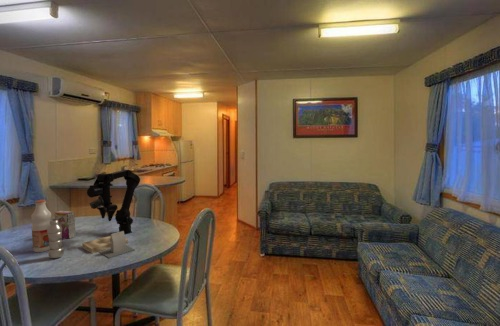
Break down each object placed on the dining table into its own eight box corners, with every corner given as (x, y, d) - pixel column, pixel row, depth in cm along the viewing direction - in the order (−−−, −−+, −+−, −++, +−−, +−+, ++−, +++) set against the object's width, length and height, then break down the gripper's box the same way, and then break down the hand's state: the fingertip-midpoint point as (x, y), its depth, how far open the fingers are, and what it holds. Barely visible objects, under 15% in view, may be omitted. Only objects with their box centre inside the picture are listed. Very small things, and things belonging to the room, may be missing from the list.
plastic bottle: (53, 255, 149) (50, 218, 148) (66, 254, 150) (64, 218, 148) (45, 260, 143) (42, 221, 141) (59, 259, 143) (57, 221, 142)
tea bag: (126, 249, 155) (125, 231, 155) (113, 252, 150) (112, 234, 150) (123, 247, 158) (122, 230, 157) (110, 251, 153) (109, 233, 152)
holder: (117, 237, 175) (117, 234, 175) (128, 242, 166) (127, 238, 166) (82, 247, 160) (82, 243, 160) (91, 253, 151) (91, 248, 151)
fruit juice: (38, 247, 161) (35, 199, 159) (56, 245, 163) (53, 198, 161) (29, 253, 152) (25, 202, 150) (49, 251, 154) (45, 201, 152)
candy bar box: (55, 237, 177) (53, 212, 176) (62, 235, 182) (61, 210, 181) (68, 239, 174) (67, 213, 173) (76, 236, 179) (74, 211, 178)
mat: (124, 245, 163) (124, 244, 163) (134, 250, 155) (134, 249, 155) (99, 252, 152) (99, 251, 152) (108, 258, 144) (108, 257, 144)
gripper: (84, 194, 168) (86, 220, 170) (97, 198, 156) (98, 225, 158) (104, 191, 177) (105, 216, 178) (117, 195, 165) (118, 221, 166)
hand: (106, 219), depth 170 cm, fingers open, 9 cm apart
